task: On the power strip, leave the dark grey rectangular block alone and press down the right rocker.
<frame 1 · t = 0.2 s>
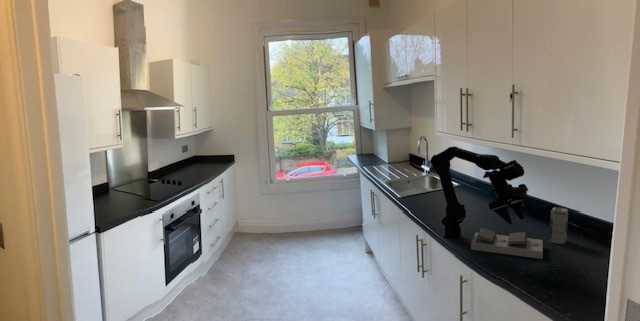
hand: (516, 221, 148), 14 cm above the table, tool tilted 25°, fingers open, 9 cm apart
syrup box: (558, 242, 162), on the table
power strip: (506, 248, 158), on the table
dark grey rectangular block: (486, 234, 161), point 5 cm above the table, hinge at 12.0°
right rocker: (517, 238, 156), point 5 cm above the table, hinge at -12.0°
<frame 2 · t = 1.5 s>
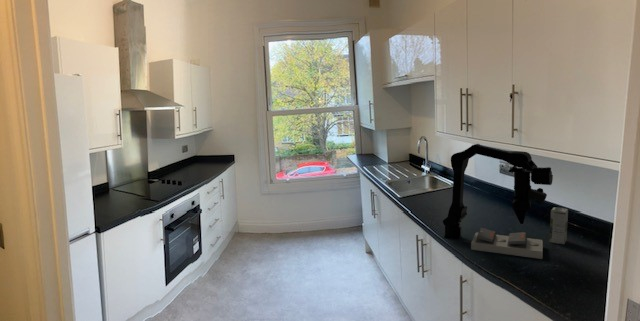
hand: (522, 220, 154), 13 cm above the table, tool pointing down, fingers open, 9 cm apart
nothing on the table moved.
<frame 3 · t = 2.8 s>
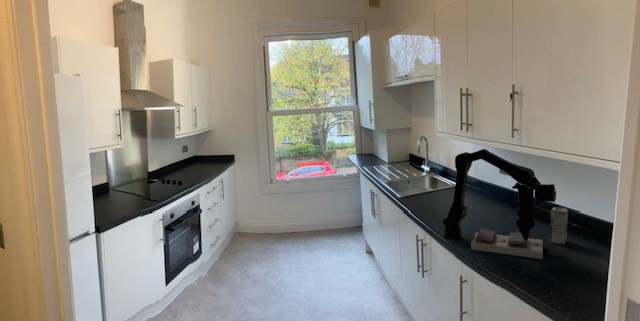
hand: (526, 236, 154), 6 cm above the table, tool pointing down
right rocker: (517, 238, 156), point 5 cm above the table, hinge at -9.9°, touching gripper
everything else where it was.
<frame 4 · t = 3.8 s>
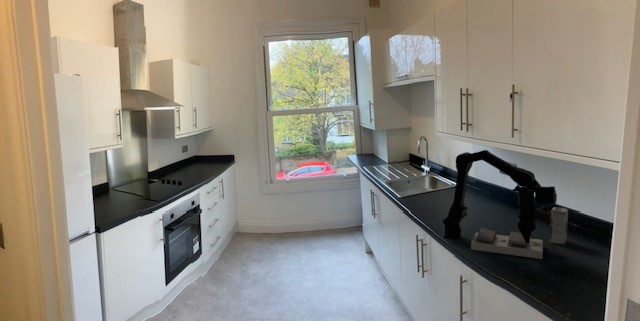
hand: (527, 239, 154), 5 cm above the table, tool pointing down
right rocker: (517, 238, 156), point 5 cm above the table, hinge at 2.5°, touching gripper
everything else where it was.
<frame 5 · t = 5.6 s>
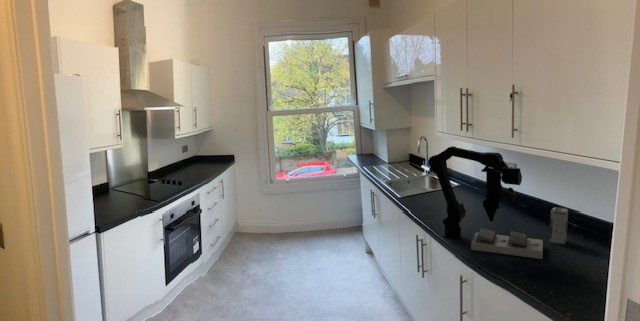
hand: (492, 218, 161), 12 cm above the table, tool pointing down, fingers open, 9 cm apart
right rocker: (517, 238, 155), point 5 cm above the table, hinge at 8.7°
everything else where it was.
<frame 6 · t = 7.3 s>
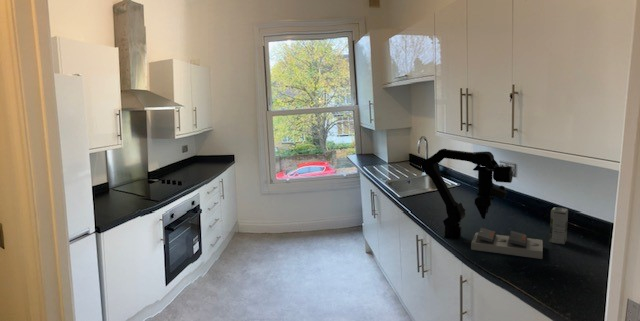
hand: (484, 215, 164), 12 cm above the table, tool pointing down, fingers open, 9 cm apart
right rocker: (517, 238, 155), point 5 cm above the table, hinge at 10.0°
everything else where it was.
at the end: right rocker at +10° (first picture: -12°); dark grey rectangular block at +12° (first picture: +12°) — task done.
